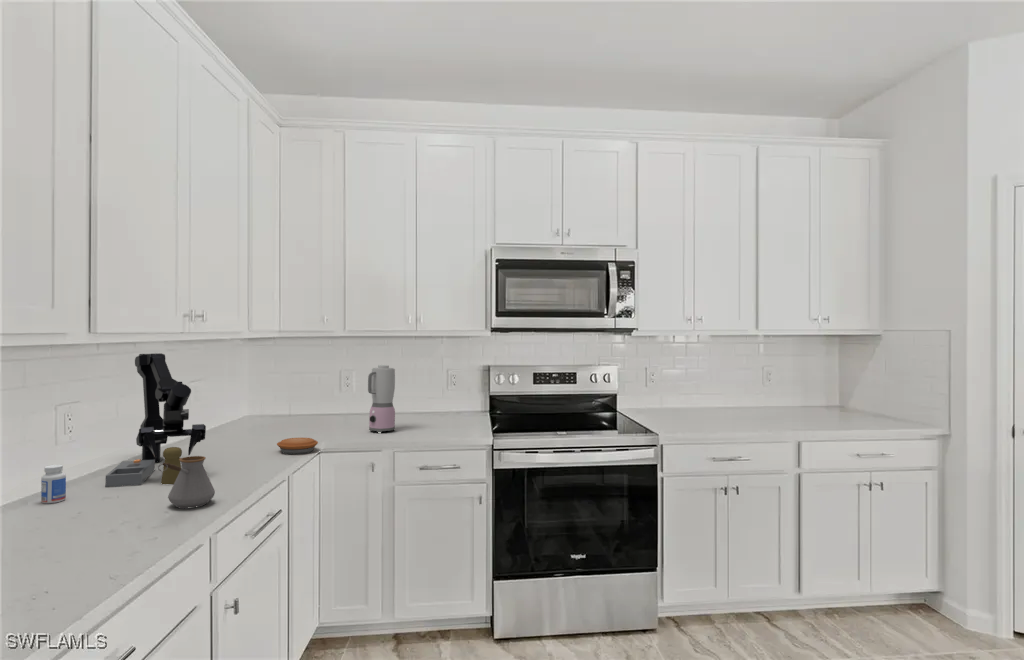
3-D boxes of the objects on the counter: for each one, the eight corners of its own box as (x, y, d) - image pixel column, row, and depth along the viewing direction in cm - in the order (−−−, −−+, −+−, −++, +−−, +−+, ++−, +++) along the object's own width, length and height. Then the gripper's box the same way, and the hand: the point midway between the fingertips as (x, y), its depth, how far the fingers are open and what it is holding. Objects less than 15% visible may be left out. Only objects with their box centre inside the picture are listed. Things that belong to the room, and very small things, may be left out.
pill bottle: (68, 497, 167) (69, 463, 167) (61, 503, 162) (62, 467, 162) (45, 499, 165) (46, 464, 165) (37, 504, 160) (38, 468, 160)
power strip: (122, 471, 198) (122, 459, 198) (154, 469, 201) (154, 457, 201) (105, 487, 179) (105, 473, 179) (141, 484, 182) (141, 471, 182)
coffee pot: (181, 498, 169) (182, 446, 169) (221, 498, 170) (223, 446, 170) (137, 522, 148) (138, 463, 148) (184, 523, 148) (185, 463, 148)
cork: (178, 478, 190) (178, 444, 190) (186, 482, 186) (186, 447, 186) (157, 482, 185) (158, 447, 185) (165, 485, 182) (166, 450, 182)
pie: (276, 456, 226) (277, 443, 226) (276, 448, 240) (277, 436, 240) (318, 454, 231) (319, 441, 231) (316, 446, 246) (316, 435, 246)
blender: (382, 428, 294) (384, 364, 294) (400, 431, 287) (401, 365, 287) (358, 432, 281) (359, 365, 281) (376, 435, 274) (377, 367, 274)
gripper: (139, 402, 186) (137, 443, 177) (206, 399, 195) (207, 438, 186) (140, 423, 193) (137, 463, 183) (204, 419, 202) (205, 458, 193)
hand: (172, 455), depth 186 cm, fingers open, 9 cm apart
